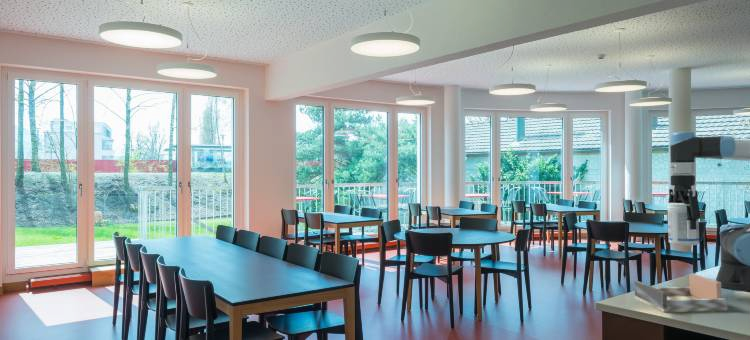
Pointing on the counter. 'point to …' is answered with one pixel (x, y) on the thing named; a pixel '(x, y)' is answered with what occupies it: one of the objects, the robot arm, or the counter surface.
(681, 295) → the grey tray
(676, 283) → the counter surface
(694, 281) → the plate
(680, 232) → the supplement tub
